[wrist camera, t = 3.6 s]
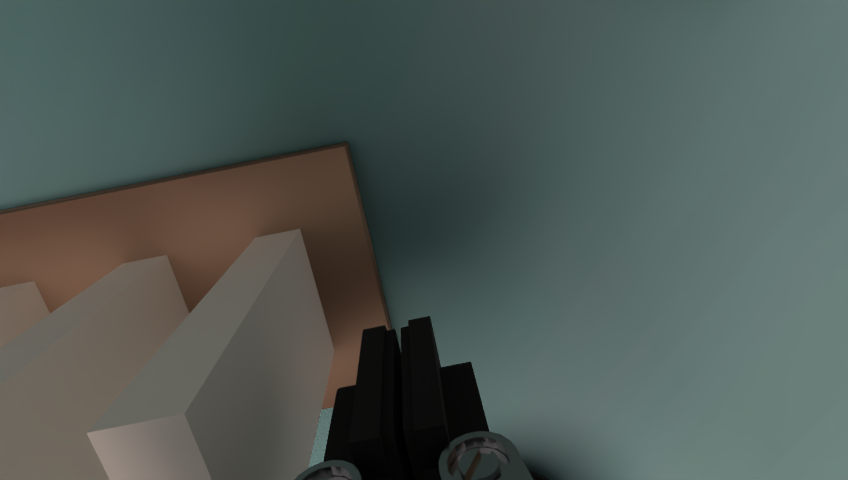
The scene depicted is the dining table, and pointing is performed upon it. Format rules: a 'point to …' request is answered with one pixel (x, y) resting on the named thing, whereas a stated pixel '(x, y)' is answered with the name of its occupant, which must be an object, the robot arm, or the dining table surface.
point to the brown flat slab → (212, 237)
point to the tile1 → (230, 379)
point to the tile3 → (19, 310)
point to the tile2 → (81, 369)
